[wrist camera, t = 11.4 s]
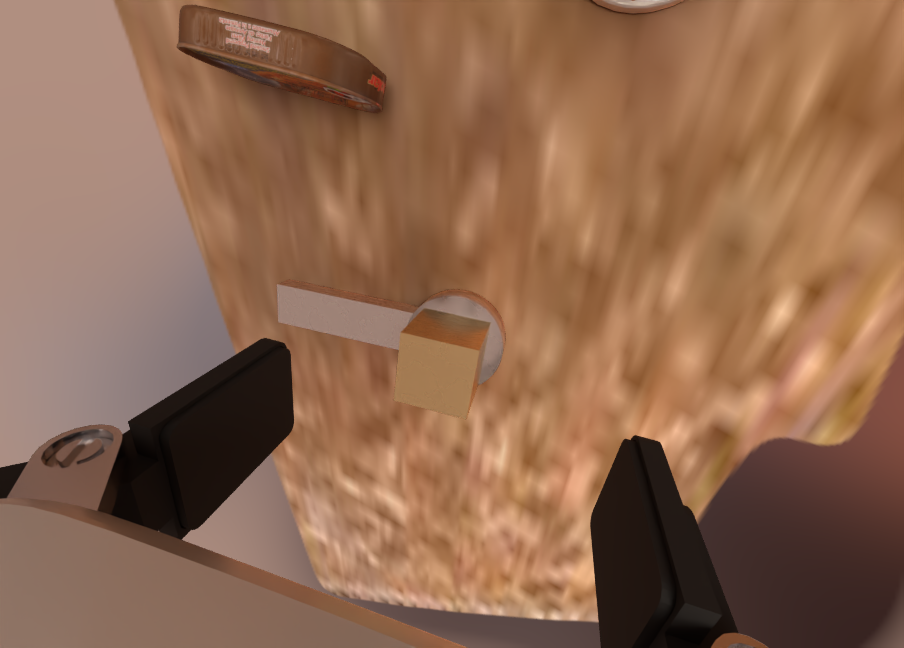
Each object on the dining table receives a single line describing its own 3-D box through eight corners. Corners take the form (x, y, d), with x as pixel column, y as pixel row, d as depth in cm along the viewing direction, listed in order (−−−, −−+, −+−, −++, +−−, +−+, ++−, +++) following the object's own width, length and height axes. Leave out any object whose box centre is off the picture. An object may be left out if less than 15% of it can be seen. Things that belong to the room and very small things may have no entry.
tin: (237, 77, 33) (143, 45, 26) (238, 34, 32) (140, -13, 24) (397, 120, 32) (349, 101, 24) (405, 77, 30) (357, 42, 23)
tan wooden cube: (424, 307, 34) (400, 332, 29) (490, 322, 33) (479, 350, 28) (416, 367, 36) (393, 400, 31) (478, 382, 35) (466, 419, 30)
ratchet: (288, 254, 38) (245, 267, 33) (514, 299, 34) (507, 322, 29) (290, 337, 41) (251, 361, 36) (496, 386, 38) (487, 420, 32)
